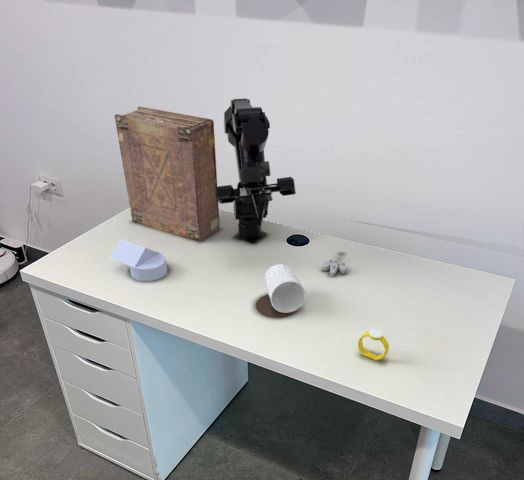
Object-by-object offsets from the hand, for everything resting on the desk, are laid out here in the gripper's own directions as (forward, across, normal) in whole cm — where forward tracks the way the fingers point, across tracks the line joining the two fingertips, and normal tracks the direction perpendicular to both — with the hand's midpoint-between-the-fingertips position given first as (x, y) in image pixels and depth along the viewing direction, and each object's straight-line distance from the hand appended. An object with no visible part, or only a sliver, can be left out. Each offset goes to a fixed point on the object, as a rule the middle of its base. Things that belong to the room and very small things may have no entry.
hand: (259, 226), depth 128 cm
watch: (+33, +22, -18) cm, 43 cm away
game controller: (+10, +18, +11) cm, 23 cm away
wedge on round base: (+6, -31, +4) cm, 32 cm away
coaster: (+20, +3, -5) cm, 21 cm away
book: (-9, -27, +25) cm, 38 cm away
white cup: (+13, +4, -2) cm, 13 cm away
